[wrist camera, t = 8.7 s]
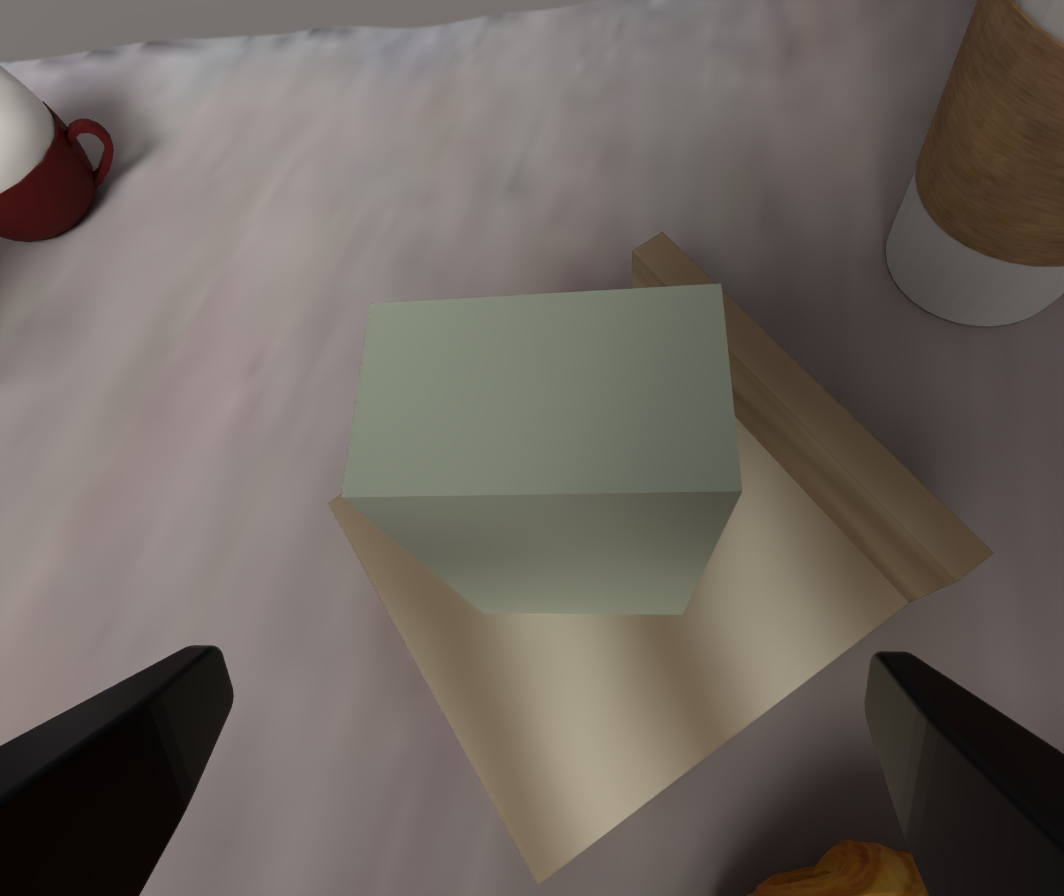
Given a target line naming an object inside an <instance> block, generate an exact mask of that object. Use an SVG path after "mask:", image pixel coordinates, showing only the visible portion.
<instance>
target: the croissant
mask: <svg viewBox="0 0 1064 896" xmlns="http://www.w3.org/2000/svg"><path fill="white" fill-rule="evenodd" d="M745 896H929V895H928V893H927V890H926V888H925V886H924V884H923V881H922V879H921V877H920V874H919V872H918V870H917V868H916V865H915V863H914V861H913V858H912V856H911V853H910V851H904V850H900V851H895V850H893V849H890V848H888V847H885V846H883V845H880V844H878V843H873V842H856V841H853V840H850V839H843V840H841V841H840V842H839V843H837V844H836V845H834V846H833V847H831V848H830V849H829V850H828V851H827V853H826V854H825V855H824V856H823V857H822V858H821V859H820V860H819V862H818V864H817V866H813V867H806V868H801V869H797V870H793V871H789V872H782V873H776V874H774V875H772V876H771V877H769V878H768V879H766V880H765V881H763V882H762V883H761V884H760V885H758V886H757V887H756V889H755V892H753V893H750V894H748V895H745Z"/></svg>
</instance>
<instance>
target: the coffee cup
mask: <svg viewBox="0 0 1064 896" xmlns="http://www.w3.org/2000/svg"><path fill="white" fill-rule="evenodd" d="M886 260H887V265H888V268H889V271H890V273H891V276H892V278H893V280H894V281H895V283H896V284H897V286H898V287H899V289H900V290H901V291H902V292H903V293H904V294H905V295H906V296H907V297H908V298H909V299H910V300H911V301H912V302H914V303H915V304H917V305H918V306H919V307H921V308H922V309H924V310H926V311H928V312H930V313H932V314H934V315H936V316H938V317H940V318H943V319H946V320H949V321H952V322H955V323H959V324H965V325H971V326H1000V325H1007V324H1012V323H1015V322H1019V321H1022V320H1025V319H1028V318H1030V317H1032V316H1033V315H1035V314H1037V313H1039V312H1041V311H1042V310H1044V309H1045V308H1046V307H1048V306H1049V305H1050V304H1051V303H1053V302H1054V301H1055V300H1056V299H1057V298H1059V297H1060V296H1061V295H1062V294H1063V293H1064V0H978V1H977V4H976V6H975V9H974V12H973V14H972V17H971V20H970V22H969V25H968V28H967V30H966V33H965V36H964V38H963V41H962V44H961V46H960V49H959V52H958V54H957V57H956V60H955V62H954V65H953V68H952V70H951V73H950V76H949V78H948V81H947V84H946V86H945V89H944V92H943V94H942V97H941V100H940V102H939V105H938V107H937V110H936V113H935V115H934V118H933V121H932V123H931V126H930V129H929V131H928V134H927V137H926V139H925V142H924V145H923V147H922V150H921V153H920V155H919V158H918V161H917V166H916V170H915V172H914V174H913V177H912V179H911V182H910V184H909V186H908V189H907V191H906V194H905V196H904V199H903V201H902V203H901V206H900V208H899V211H898V213H897V215H896V218H895V220H894V223H893V225H892V228H891V230H890V233H889V235H888V239H887V244H886Z"/></svg>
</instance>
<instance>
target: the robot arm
mask: <svg viewBox="0 0 1064 896" xmlns="http://www.w3.org/2000/svg"><path fill="white" fill-rule="evenodd" d="M233 697H234V695H233V687H232V684H231V680H230V677H229V674H228V670H227V667H226V664H225V660H224V657H223V654H222V651H221V650H220V649H219V648H218V647H216V646H212V645H193V646H188V647H185V648H183V649H181V650H180V651H178V652H176V653H174V654H172V655H170V656H168V657H166V658H165V659H163V660H161V661H159V662H157V663H155V664H153V665H151V666H150V667H148V668H146V669H144V670H142V671H140V672H138V673H136V674H135V675H133V676H131V677H129V678H127V679H125V680H123V681H121V682H119V683H118V684H116V685H114V686H112V687H110V688H108V689H106V690H104V691H103V692H101V693H99V694H97V695H95V696H93V697H91V698H89V699H88V700H86V701H84V702H82V703H80V704H78V705H76V706H74V707H73V708H71V709H69V710H67V711H65V712H63V713H61V714H59V715H58V716H56V717H54V718H52V719H50V720H48V721H46V722H44V723H43V724H41V725H39V726H37V727H35V728H33V729H31V730H29V731H27V732H26V733H24V734H22V735H20V736H18V737H16V738H14V739H12V740H11V741H9V742H7V743H5V744H3V745H1V746H0V896H139V895H140V893H141V892H142V890H143V888H144V886H145V884H146V883H147V881H148V879H149V877H150V875H151V873H152V872H153V870H154V868H155V866H156V864H157V863H158V861H159V859H160V857H161V855H162V854H163V852H164V850H165V848H166V846H167V844H168V843H169V841H170V839H171V837H172V835H173V834H174V832H175V830H176V828H177V826H178V824H179V822H180V821H181V819H182V817H183V815H184V813H185V811H186V809H187V807H188V805H189V803H190V801H191V798H192V796H193V794H194V792H195V790H196V788H197V785H198V783H199V781H200V778H201V776H202V774H203V772H204V769H205V767H206V765H207V763H208V760H209V758H210V756H211V753H212V751H213V749H214V747H215V744H216V742H217V740H218V737H219V735H220V733H221V731H222V728H223V726H224V724H225V722H226V719H227V717H228V715H229V712H230V710H231V707H232V704H233ZM865 714H866V719H867V723H868V726H869V730H870V733H871V736H872V739H873V742H874V745H875V748H876V752H877V755H878V758H879V761H880V764H881V767H882V770H883V774H884V777H885V780H886V783H887V786H888V789H889V793H890V796H891V799H892V802H893V805H894V808H895V811H896V815H897V818H898V821H899V824H900V827H901V830H902V832H903V835H904V838H905V841H906V844H907V846H908V848H909V851H910V853H911V856H912V858H913V861H914V863H915V865H916V868H917V870H918V872H919V874H920V877H921V879H922V881H923V884H924V886H925V888H926V890H927V893H928V895H929V896H1064V754H1063V753H1062V752H1060V751H1059V750H1057V749H1056V748H1054V747H1053V746H1051V745H1050V744H1048V743H1047V742H1045V741H1044V740H1042V739H1041V738H1039V737H1038V736H1036V735H1034V734H1033V733H1031V732H1030V731H1028V730H1027V729H1025V728H1024V727H1022V726H1021V725H1019V724H1018V723H1016V722H1015V721H1013V720H1012V719H1010V718H1009V717H1007V716H1006V715H1004V714H1002V713H1001V712H999V711H998V710H996V709H995V708H993V707H992V706H990V705H989V704H987V703H986V702H984V701H983V700H981V699H980V698H978V697H977V696H975V695H974V694H972V693H971V692H969V691H967V690H966V689H964V688H963V687H961V686H960V685H958V684H957V683H955V682H954V681H952V680H951V679H949V678H948V677H946V676H945V675H943V674H942V673H940V672H939V671H937V670H935V669H934V668H932V667H931V666H929V665H928V664H926V663H925V662H923V661H922V660H920V659H919V658H917V657H916V656H914V655H912V654H910V653H908V652H887V651H879V652H876V653H875V654H873V656H872V658H871V661H870V667H869V674H868V682H867V689H866V697H865Z"/></svg>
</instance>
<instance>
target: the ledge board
mask: <svg viewBox="0 0 1064 896" xmlns="http://www.w3.org/2000/svg"><path fill="white" fill-rule="evenodd" d="M703 284H716V283H715V282H714V281H713V280H712V279H711V278H710V277H708V276H707V275H706V274H705V273H704V272H703V271H702V270H701V269H700V268H699V267H698V266H697V265H696V264H695V263H694V262H693V261H692V260H691V259H690V258H689V257H688V256H687V255H686V254H685V253H684V252H683V251H682V250H681V249H680V248H679V247H677V246H676V245H675V244H674V243H673V242H672V241H671V240H670V239H669V238H668V237H667V236H666V235H665V234H664V233H663V232H661V233H660V234H658V235H657V236H655V237H653V238H652V239H650V240H649V241H647V242H646V243H644V244H642V245H641V246H639V247H638V248H636V249H635V250H633V251H632V289H633V288H650V287H668V286H686V285H703ZM722 296H723V306H724V316H725V325H726V335H727V345H728V355H729V364H730V374H731V384H732V394H733V404H734V413H735V423H736V433H737V443H738V452H739V462H740V472H741V482H742V493H741V495H740V497H739V499H738V501H737V504H736V506H735V508H734V510H733V512H732V514H731V516H730V518H729V520H728V522H727V524H726V526H725V528H724V530H723V532H722V534H721V536H720V539H719V541H718V543H717V545H716V547H715V549H714V551H713V553H712V555H711V557H710V559H709V561H708V563H707V565H706V567H705V569H704V571H703V574H702V576H701V578H700V580H699V582H698V584H697V586H696V588H695V590H694V592H693V594H692V596H691V598H690V600H689V602H688V604H687V607H686V609H685V611H684V613H683V615H643V614H530V613H482V612H481V611H480V610H479V609H478V608H476V607H475V606H474V605H473V604H471V603H470V602H469V601H468V600H466V599H465V598H464V597H463V596H462V595H460V594H459V593H458V592H457V591H455V590H454V589H453V588H452V587H450V586H449V585H448V584H447V583H446V582H444V581H443V580H442V579H441V578H439V577H438V576H437V575H436V574H434V573H433V572H432V571H431V570H430V569H428V568H427V567H426V566H425V565H423V564H422V563H421V562H420V561H418V560H417V559H416V558H415V557H414V556H412V555H411V554H410V553H409V552H407V551H406V550H405V549H404V548H402V547H401V546H400V545H399V544H398V543H396V542H395V541H394V540H393V539H391V538H390V537H389V536H388V535H386V534H385V533H384V532H383V531H382V530H380V529H379V528H378V527H377V526H375V525H374V524H373V523H372V522H370V521H369V520H368V519H367V518H366V517H364V516H363V515H362V514H361V513H359V512H358V511H357V510H356V509H354V508H353V507H352V506H351V505H350V504H348V503H347V502H346V501H345V500H343V499H342V498H341V495H339V496H338V497H336V498H335V499H333V500H332V501H330V502H329V503H328V504H329V506H330V508H331V509H332V511H333V513H334V515H335V517H336V519H337V520H338V522H339V524H340V526H341V528H342V529H343V531H344V533H345V535H346V537H347V539H348V540H349V542H350V544H351V546H352V548H353V549H354V551H355V553H356V555H357V557H358V559H359V560H360V562H361V564H362V566H363V568H364V570H365V571H366V573H367V575H368V577H369V579H370V580H371V582H372V584H373V586H374V588H375V590H376V591H377V593H378V595H379V597H380V599H381V600H382V602H383V604H384V606H385V608H386V610H387V611H388V613H389V615H390V617H391V619H392V621H393V622H394V624H395V626H396V628H397V630H398V631H399V633H400V635H401V637H402V639H403V641H404V642H405V644H406V646H407V648H408V650H409V651H410V653H411V655H412V657H413V659H414V661H415V662H416V664H417V666H418V668H419V670H420V672H421V673H422V675H423V677H424V679H425V681H426V682H427V684H428V686H429V688H430V690H431V692H432V693H433V695H434V697H435V699H436V701H437V702H438V704H439V706H440V708H441V710H442V712H443V713H444V715H445V717H446V719H447V721H448V723H449V724H450V726H451V728H452V730H453V732H454V733H455V735H456V737H457V739H458V741H459V743H460V744H461V746H462V748H463V750H464V752H465V753H466V755H467V757H468V759H469V761H470V763H471V764H472V766H473V768H474V770H475V772H476V774H477V775H478V777H479V779H480V781H481V783H482V784H483V786H484V788H485V790H486V792H487V794H488V795H489V797H490V799H491V801H492V803H493V804H494V806H495V808H496V810H497V812H498V814H499V815H500V817H501V819H502V821H503V823H504V825H505V826H506V828H507V830H508V832H509V834H510V835H511V837H512V839H513V841H514V843H515V845H516V846H517V848H518V850H519V852H520V854H521V855H522V857H523V859H524V861H525V863H526V865H527V866H528V868H529V870H530V872H531V874H532V876H533V877H534V879H535V881H536V883H537V885H539V884H540V883H542V882H543V881H544V880H546V879H547V878H548V877H550V876H551V875H552V874H553V873H555V872H556V871H557V870H559V869H560V868H561V867H563V866H564V865H565V864H567V863H568V862H569V861H571V860H572V859H573V858H575V857H576V856H577V855H578V854H580V853H581V852H582V851H584V850H585V849H586V848H588V847H589V846H590V845H592V844H593V843H594V842H596V841H597V840H598V839H599V838H601V837H602V836H603V835H605V834H606V833H607V832H609V831H610V830H611V829H613V828H614V827H615V826H617V825H618V824H619V823H620V822H622V821H623V820H624V819H626V818H627V817H628V816H630V815H631V814H632V813H634V812H635V811H636V810H638V809H639V808H640V807H641V806H643V805H644V804H645V803H647V802H648V801H649V800H651V799H652V798H653V797H655V796H656V795H657V794H659V793H660V792H661V791H663V790H664V789H665V788H666V787H668V786H669V785H670V784H672V783H673V782H674V781H676V780H677V779H678V778H680V777H681V776H682V775H684V774H685V773H686V772H687V771H689V770H690V769H691V768H693V767H694V766H695V765H697V764H698V763H699V762H701V761H702V760H703V759H705V758H706V757H707V756H708V755H710V754H711V753H712V752H714V751H715V750H716V749H718V748H719V747H720V746H722V745H723V744H724V743H726V742H727V741H728V740H729V739H731V738H732V737H733V736H735V735H736V734H737V733H739V732H740V731H741V730H743V729H744V728H745V727H747V726H748V725H749V724H751V723H752V722H753V721H754V720H756V719H757V718H758V717H760V716H761V715H762V714H764V713H765V712H766V711H768V710H769V709H770V708H772V707H773V706H774V705H775V704H777V703H778V702H779V701H781V700H782V699H783V698H785V697H786V696H787V695H789V694H790V693H791V692H793V691H794V690H795V689H796V688H798V687H799V686H800V685H802V684H803V683H804V682H806V681H807V680H808V679H810V678H811V677H812V676H814V675H815V674H816V673H818V672H819V671H820V670H821V669H823V668H824V667H825V666H827V665H828V664H829V663H831V662H832V661H833V660H835V659H836V658H837V657H839V656H840V655H841V654H842V653H844V652H845V651H846V650H848V649H849V648H850V647H852V646H853V645H854V644H856V643H857V642H858V641H860V640H861V639H862V638H863V637H865V636H866V635H867V634H869V633H870V632H871V631H873V630H874V629H875V628H877V627H878V626H879V625H881V624H882V623H883V622H884V621H886V620H887V619H888V618H890V617H891V616H892V615H894V614H895V613H896V612H898V611H899V610H900V609H902V608H903V607H904V606H906V605H907V604H908V603H910V602H912V601H914V600H917V599H919V598H921V597H923V596H925V595H928V594H930V593H932V592H934V591H937V590H939V589H941V588H943V587H945V586H948V585H950V584H952V583H954V582H957V581H958V580H960V579H961V578H962V577H963V576H965V575H966V574H967V573H969V572H970V571H971V570H973V569H974V568H975V567H977V566H978V565H979V564H980V563H982V562H983V561H984V560H986V559H987V558H988V557H990V556H991V555H992V554H994V552H993V551H991V550H990V549H989V548H988V547H987V546H986V545H985V544H984V543H983V542H982V541H981V540H980V539H979V538H978V537H977V536H976V535H975V534H974V533H973V532H972V531H971V530H970V529H969V528H968V527H967V526H966V525H965V524H964V523H963V522H962V521H961V520H959V519H958V518H957V517H956V516H955V515H954V514H953V513H952V512H951V511H950V510H949V509H948V508H947V507H946V506H945V505H944V504H943V503H942V502H941V501H940V500H939V499H938V498H937V497H936V496H935V495H934V494H933V493H932V492H931V491H930V490H928V489H927V488H926V487H925V486H924V485H923V484H922V483H921V482H920V481H919V480H918V479H917V478H916V477H915V476H914V475H913V474H912V473H911V472H910V471H909V470H908V469H907V468H906V467H905V466H904V465H903V464H902V463H901V462H900V461H899V460H897V459H896V458H895V457H894V456H893V455H892V454H891V453H890V452H889V451H888V450H887V449H886V448H885V447H884V446H883V445H882V444H881V443H880V442H879V441H878V440H877V439H876V438H875V437H874V436H873V435H872V434H871V433H870V432H869V431H868V430H867V429H865V428H864V427H863V426H862V425H861V424H860V423H859V422H858V421H857V420H856V419H855V418H854V417H853V416H852V415H851V414H850V413H849V412H848V411H847V410H846V409H845V408H844V407H843V406H842V405H841V404H840V403H839V402H838V401H837V400H836V399H834V398H833V397H832V396H831V395H830V394H829V393H828V392H827V391H826V390H825V389H824V388H823V387H822V386H821V385H820V384H819V383H818V382H817V381H816V380H815V379H814V378H813V377H812V376H811V375H810V374H809V373H808V372H807V371H806V370H805V369H804V368H802V367H801V366H800V365H799V364H798V363H797V362H796V361H795V360H794V359H793V358H792V357H791V356H790V355H789V354H788V353H787V352H786V351H785V350H784V349H783V348H782V347H781V346H780V345H779V344H778V343H777V342H776V341H775V340H774V339H773V338H771V337H770V336H769V335H768V334H767V333H766V332H765V331H764V330H763V329H762V328H761V327H760V326H759V325H758V324H757V323H756V322H755V321H754V320H753V319H752V318H751V317H750V316H749V315H748V314H747V313H746V312H745V311H744V310H743V309H742V308H741V307H739V306H738V305H737V304H736V303H735V302H734V301H733V300H732V299H731V298H730V297H729V296H728V295H727V294H726V293H725V292H724V291H723V290H722Z"/></svg>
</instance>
